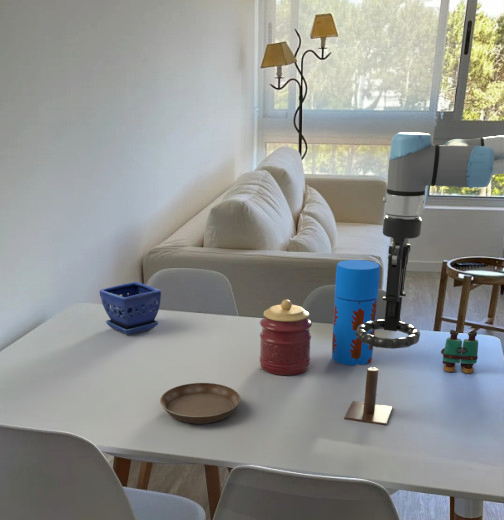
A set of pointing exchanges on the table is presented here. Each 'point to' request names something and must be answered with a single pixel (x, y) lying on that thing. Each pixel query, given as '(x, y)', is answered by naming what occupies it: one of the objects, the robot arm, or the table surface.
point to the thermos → (354, 309)
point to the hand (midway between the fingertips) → (391, 327)
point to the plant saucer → (200, 402)
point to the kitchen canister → (285, 339)
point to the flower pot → (131, 307)
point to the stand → (369, 404)
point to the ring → (387, 342)
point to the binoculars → (460, 352)
